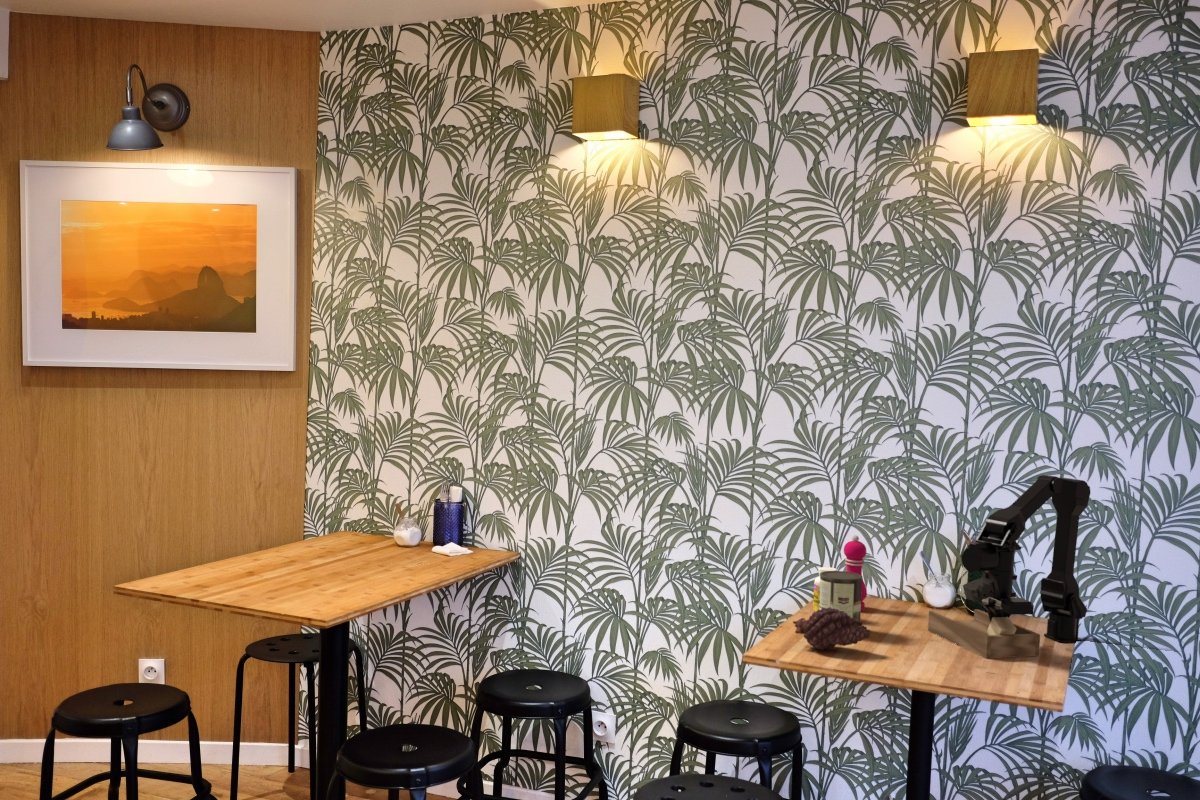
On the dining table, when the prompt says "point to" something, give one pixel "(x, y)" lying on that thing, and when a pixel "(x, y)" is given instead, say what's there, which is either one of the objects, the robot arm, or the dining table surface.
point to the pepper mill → (856, 562)
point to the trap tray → (984, 636)
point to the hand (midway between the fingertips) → (995, 634)
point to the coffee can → (841, 592)
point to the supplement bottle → (817, 588)
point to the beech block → (1001, 626)
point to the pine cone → (831, 629)
